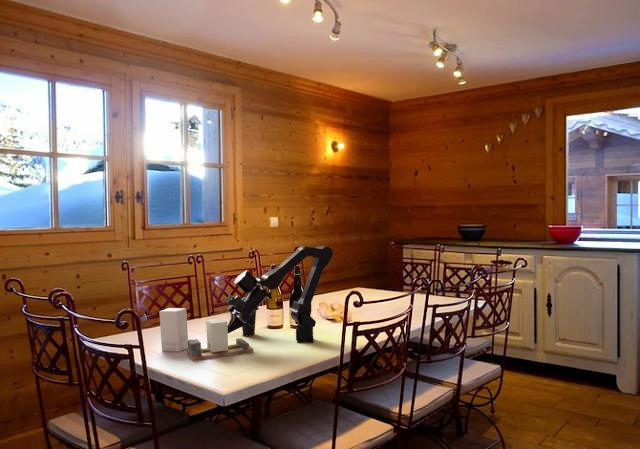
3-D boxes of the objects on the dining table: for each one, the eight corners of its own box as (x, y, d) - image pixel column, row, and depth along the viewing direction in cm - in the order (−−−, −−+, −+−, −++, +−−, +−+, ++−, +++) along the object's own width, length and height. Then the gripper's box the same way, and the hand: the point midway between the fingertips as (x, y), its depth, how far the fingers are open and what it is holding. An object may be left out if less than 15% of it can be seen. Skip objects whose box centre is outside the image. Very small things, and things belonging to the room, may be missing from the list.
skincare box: (189, 348, 201) (187, 308, 200) (179, 352, 195) (177, 311, 194) (170, 346, 204) (169, 307, 203) (160, 351, 197) (158, 310, 197)
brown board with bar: (245, 345, 202) (244, 331, 202) (253, 352, 193) (253, 337, 193) (186, 354, 192) (186, 339, 192) (192, 361, 183) (192, 345, 183)
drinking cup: (254, 337, 215) (253, 289, 214) (237, 337, 217) (235, 289, 216) (260, 333, 223) (259, 286, 222) (243, 332, 224) (242, 286, 223)
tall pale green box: (222, 345, 197) (222, 318, 196) (228, 350, 190) (227, 321, 190) (207, 348, 194) (206, 320, 194) (211, 352, 188) (211, 323, 188)
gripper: (231, 284, 204) (204, 315, 199) (246, 290, 187) (216, 324, 183) (251, 302, 208) (224, 333, 203) (267, 309, 191) (239, 343, 186)
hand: (225, 333), depth 194 cm, fingers closed, pressing on tall pale green box
